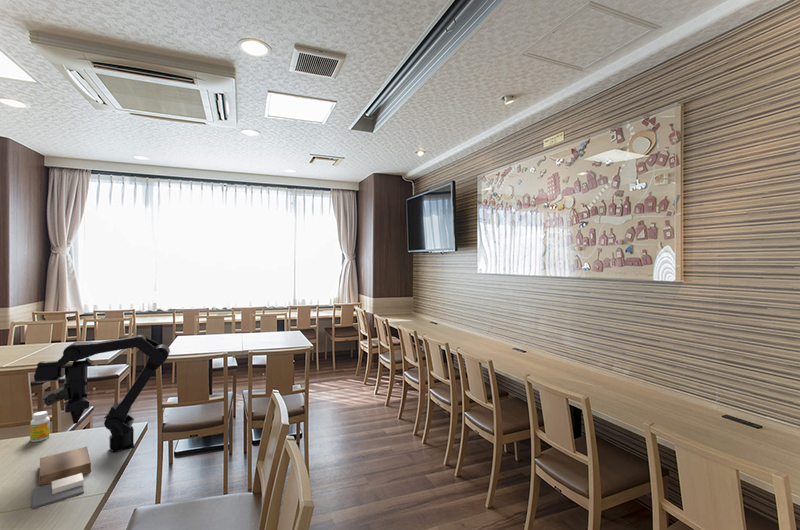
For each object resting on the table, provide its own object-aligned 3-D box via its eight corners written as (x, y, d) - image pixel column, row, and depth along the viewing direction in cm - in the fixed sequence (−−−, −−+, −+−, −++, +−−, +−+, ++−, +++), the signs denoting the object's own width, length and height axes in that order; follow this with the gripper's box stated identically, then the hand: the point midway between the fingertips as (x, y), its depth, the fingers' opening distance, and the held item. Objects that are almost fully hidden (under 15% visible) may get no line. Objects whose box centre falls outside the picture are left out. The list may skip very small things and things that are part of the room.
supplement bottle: (27, 443, 141) (27, 417, 141) (33, 437, 145) (33, 411, 145) (46, 440, 143) (47, 414, 143) (51, 434, 148) (52, 409, 148)
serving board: (86, 454, 134) (87, 446, 134) (90, 471, 123) (90, 462, 123) (39, 467, 125) (39, 458, 125) (39, 486, 115) (39, 476, 115)
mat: (81, 476, 121) (81, 475, 121) (83, 492, 113) (83, 491, 113) (32, 490, 113) (32, 488, 113) (31, 509, 105) (31, 507, 105)
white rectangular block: (83, 479, 116) (83, 484, 116) (81, 472, 119) (81, 477, 119) (52, 489, 111) (52, 494, 111) (51, 481, 114) (51, 486, 114)
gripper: (44, 376, 135) (43, 420, 135) (44, 391, 121) (44, 440, 121) (85, 371, 142) (84, 412, 142) (89, 383, 129) (89, 429, 129)
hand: (75, 423), depth 134 cm, fingers closed
